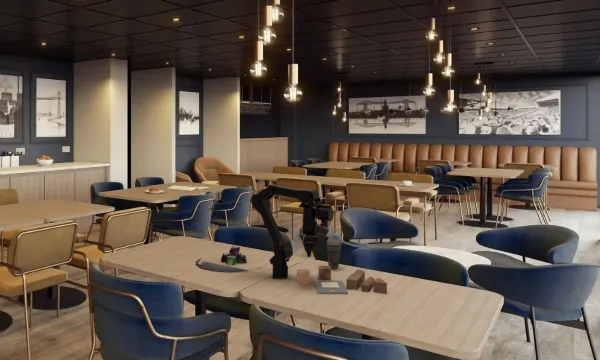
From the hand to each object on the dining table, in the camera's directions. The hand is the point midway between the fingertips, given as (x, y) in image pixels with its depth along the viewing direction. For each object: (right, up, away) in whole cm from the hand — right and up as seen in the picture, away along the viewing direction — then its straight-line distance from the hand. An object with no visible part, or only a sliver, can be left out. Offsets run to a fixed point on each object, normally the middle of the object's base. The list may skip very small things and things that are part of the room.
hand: (307, 254), depth 219 cm
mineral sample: (-37, -9, +30) cm, 48 cm away
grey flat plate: (+9, -13, -7) cm, 18 cm away
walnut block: (+8, -12, +7) cm, 15 cm away
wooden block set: (+27, -14, -3) cm, 30 cm away
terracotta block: (-2, -12, 0) cm, 12 cm away
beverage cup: (+13, -10, +23) cm, 28 cm away
